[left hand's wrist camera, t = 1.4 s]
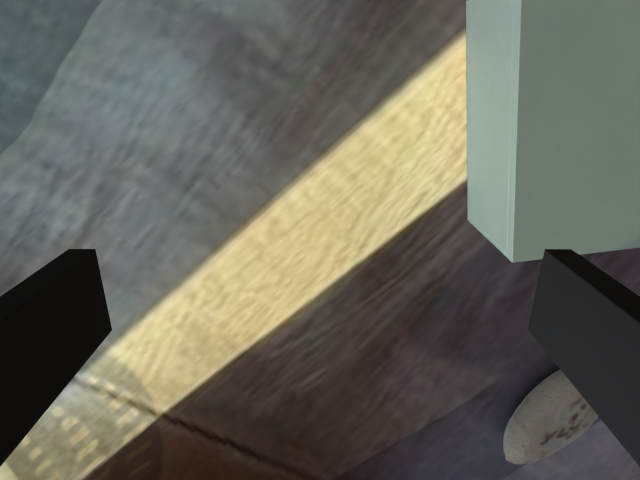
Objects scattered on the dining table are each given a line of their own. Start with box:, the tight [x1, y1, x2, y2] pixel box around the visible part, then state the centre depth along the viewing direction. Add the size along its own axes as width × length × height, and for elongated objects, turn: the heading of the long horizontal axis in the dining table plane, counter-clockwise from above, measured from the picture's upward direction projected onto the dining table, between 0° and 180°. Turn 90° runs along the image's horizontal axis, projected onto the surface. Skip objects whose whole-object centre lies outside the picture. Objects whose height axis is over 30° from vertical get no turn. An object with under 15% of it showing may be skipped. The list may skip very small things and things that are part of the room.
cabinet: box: [466, 0, 640, 262], centre depth 29 cm, size 17×10×9 cm, turn 8°
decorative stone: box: [503, 370, 599, 464], centre depth 41 cm, size 6×16×3 cm, turn 148°
